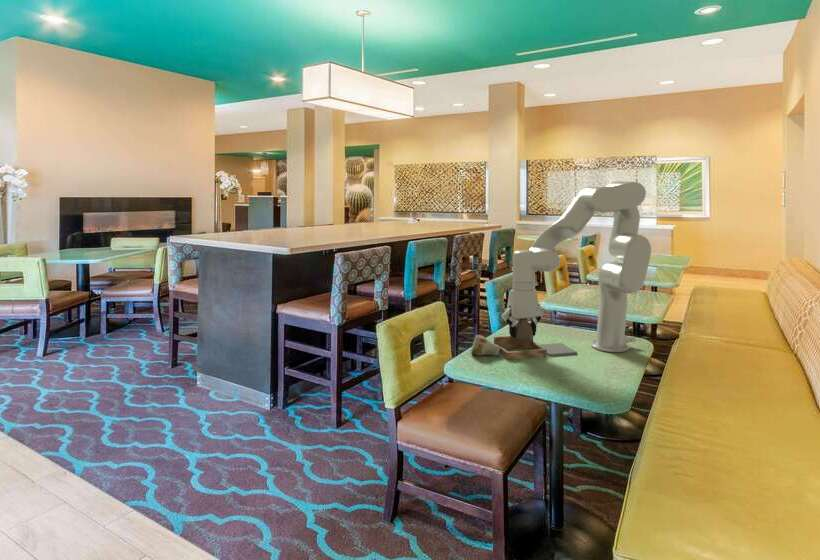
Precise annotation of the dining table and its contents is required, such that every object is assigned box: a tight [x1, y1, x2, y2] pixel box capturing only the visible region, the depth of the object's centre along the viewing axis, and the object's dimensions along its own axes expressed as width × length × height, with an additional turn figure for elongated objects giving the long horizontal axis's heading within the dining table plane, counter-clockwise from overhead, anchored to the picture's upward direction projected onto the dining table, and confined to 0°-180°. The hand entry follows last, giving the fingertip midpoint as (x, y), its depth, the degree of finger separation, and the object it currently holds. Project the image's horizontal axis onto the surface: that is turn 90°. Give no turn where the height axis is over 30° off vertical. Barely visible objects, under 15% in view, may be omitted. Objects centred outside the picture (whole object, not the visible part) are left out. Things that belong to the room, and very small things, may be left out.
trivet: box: [539, 342, 578, 357], centre depth 190 cm, size 11×11×1 cm
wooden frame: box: [493, 335, 548, 361], centre depth 186 cm, size 15×11×5 cm
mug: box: [470, 334, 500, 357], centre depth 184 cm, size 8×10×10 cm
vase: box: [514, 318, 534, 344], centre depth 185 cm, size 7×7×9 cm
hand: (522, 335), depth 185 cm, fingers closed on vase, 6 cm apart
